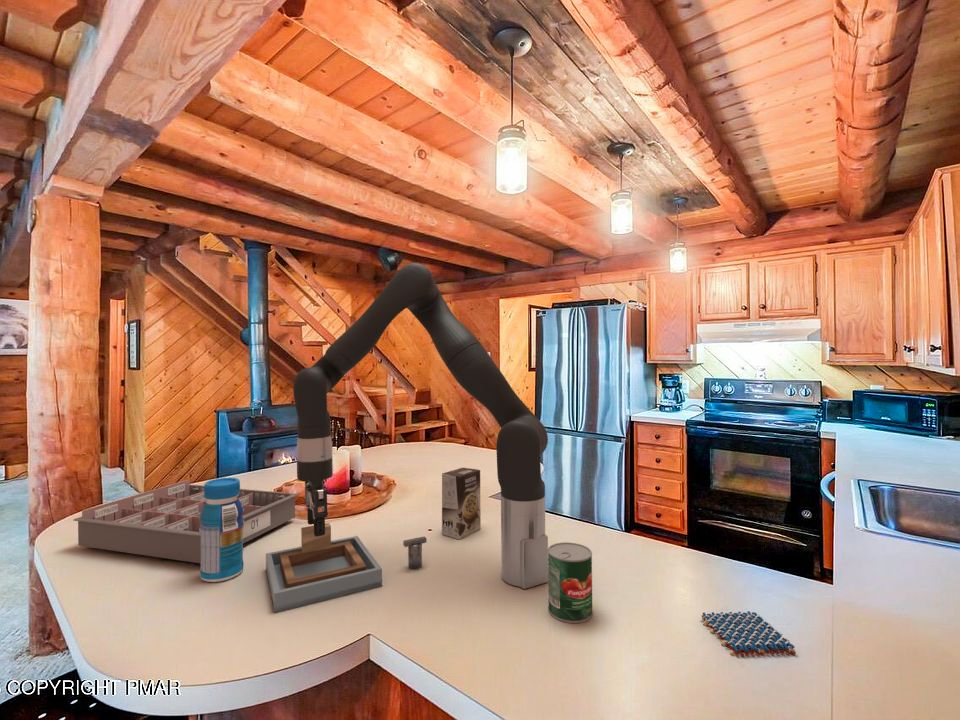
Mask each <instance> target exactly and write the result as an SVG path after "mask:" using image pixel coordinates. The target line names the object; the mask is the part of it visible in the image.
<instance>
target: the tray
mask: <svg viewBox="0 0 960 720" xmlns="http://www.w3.org/2000/svg"><path fill="white" fill-rule="evenodd" d="M348 541H350V543H351V544H352V546H353V547H354V549H355V550H356V552H357V553H358V554H359V556H360V557H361V559H362V560H363V562H364V563H365V565H366V566H367V570H365V571H361V572H356V573H352V574H348V575H343V576H339V577H334V578H330V579H326V580H321V581H317V582H313V583H308V584H304V585H300V586H295V587H291V588H287V589H286V588H285V584H284V580H283V576H282V572H281V569H280V555H282V554H287V553H292V552H297V551H302V547H301V546H299V547H293V548H287V549H283V550H275V551H272V552H267V553H265V572H266V576H267V581H268V586H269V591H270V596H271V601H272V602H271V603H272V606H273V612H274V614H276V613H281V612H285V611H288V610H292V609H296V608H300V607H304V606H309V605H313V604H316V603H320V602H324V601H328V600H332V599H336V598H341V597H343V596H347V595H352V594H355V593H360V592H364V591H368V590H372V589H375V588H380V587H383V568H382V567H381V566H380V564H379V563H378V561H377V560H376V559H375V558H374V556H373V554H371V552H370V550H368V548H367V547H366V545H365V544H364V543H363V541H362V540H361V538H360V537H359V536H358V535H356V536H355V535H354V536H350V537H345V538H340V539H333V540H331V545H332V544H338V543H343V542H348ZM347 567H351V566H350V564H349V562H348V561H347V559H346V557H345V556H340V557H335V558H331V559H326V560H321V561H316V562H312V563H307V564H302V565H297V566H293V567H292V570H293V573H294V576H295V579H297V578H302V577H306V576H311V575H315V574H320V573H324V572H329V571H333V570H338V569H342V568H347Z"/></svg>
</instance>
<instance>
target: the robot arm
mask: <svg viewBox="0 0 960 720" xmlns="http://www.w3.org/2000/svg"><path fill="white" fill-rule="evenodd" d="M406 309H407V310H408V311H410V313H411V314H412V315H413V316H414V317H415V318H416V319H417V321H419V323H420V324H421V325H422V327H423V328H424V329H425V330H426V332H427V333H428V335H429V336H430V339H431V340H432V343H433V344H434V346H435V349H436V351H437V353H438V354H439V357H440V358H441V360H442V361H443V364H444V365H445V366H446V368H447V369H448V371H449V372H450V373H451V375H452V377H453V378H454V379H455V381H456V382H457V383H458V384H459V385H460V387H461V388H463V390H464V391H466V392H467V393H468V394H469V395H470V396H472V397H473V398H474V399H475V400H476V401H478V402H479V403H480V404H481V405H482V406H483V407H485V409H487V411H488V412H490V414H491V415H492V416H493V418H494V419H495V421H496V422H497V424H498V425H499V427H500V429H499V431H498V434H497V439H496V449H495V450H496V470H497V472H496V473H497V481H498V484H499V486H500V533H501V534H500V537H501V538H500V539H501V541H500V544H501V547H500V548H501V550H500V552H501V556H500V557H501V579H502V580H503V581H504V582H505V583H506V584H509V585H511V586H514V587H519V588H522V589H523V590H526V589H529V588H532V587H535V586H540V585H542V584H546V583H548V548H549V536H548V535H547V534H546V484H545V482H544V480H543V478H542V472H541V471H542V470H541V455H542V454H544V453H545V451H546V449H547V446H548V443H549V436H548V432H547V430H546V429H547V428H546V427H545V425H544V424H543V423H542V421H540V419H539V418H538V417H537V416H536V415H535V414H534V412H532V410H531V409H530V408H529V407H528V406H527V405H526V403H525V402H523V400H522V399H521V398H520V397H519V396H518V395H517V394H516V392H515V391H514V390H513V389H514V388H512V386H511V385H510V383H509V382H508V380H507V378H506V377H505V375H504V374H503V373H502V371H501V370H500V369H499V367H498V366H497V365H496V363H495V361H494V360H493V359H492V356H491V355H490V354H489V352H488V351H487V349H485V347H484V345H483V344H482V343H481V341H479V339H478V337H476V335H474V333H473V332H472V331H471V330H470V329H469V328H468V327H467V326H466V325H464V324H463V322H461V321H460V320H459V319H458V318H457V317H456V316H455V314H454V313H453V312H452V310H451V309H450V307H449V306H448V304H447V302H446V300H445V299H444V297H443V295H442V293H441V291H440V290H439V287H438V285H437V282H436V281H435V278H434V276H433V274H432V272H431V270H430V269H429V268H428V267H426V266H425V265H424V264H421V263H419V262H418V263H417V262H412V263H408V264H405V265H404V266H402V267H401V268H400V269H398V271H397V272H396V273H394V275H393V276H392V277H391V279H390V280H389V282H388V283H387V284H386V286H385V287H384V288H383V290H382V291H380V293H379V294H378V296H377V297H376V298H375V299H374V300H373V301H372V303H371V304H370V305H369V306H368V307H367V308H366V310H365V311H364V312H363V313H362V314H361V315H360V316H359V318H358V319H356V321H354V323H353V324H351V326H350V327H349V328H347V330H345V331H344V332H343V333H342V334H341V335H340V336H339V337H338V338H337V339H336V340H334V342H333V343H331V344H330V345H329V347H327V349H326V350H325V354H323V355H322V356H321V357H320V358H319V359H318V360H317V361H316V362H314V364H313V365H311V367H307V368H304V369H301V370H300V371H299V372H298V373H297V374H296V376H295V377H294V379H293V380H294V381H293V388H292V389H293V399H294V406H295V410H296V414H297V427H296V428H297V431H296V432H297V443H296V478H297V480H298V481H301V482H304V502H305V506H306V510H307V512H306V513H307V514H306V515H307V517H306V518H307V524H308V525H309V526H312V525H313V526H314V535H315V536H316V537H317V536H322V535H324V534H325V524H326V518H328V516H329V515H328V489H327V486H324V485H325V484H324V481H325V480H328V479H330V478H332V477H333V475H334V474H333V471H334V468H333V467H334V466H333V465H334V464H333V442H332V430H331V429H332V428H331V427H332V425H331V423H332V422H331V415H330V412H329V411H328V399H327V398H328V397H327V396H328V395H327V394H329V392H331V390H332V389H334V388H335V386H336V385H337V384H339V382H340V381H341V380H342V379H343V378H344V377H345V375H346V374H347V373H348V372H349V371H351V370H352V369H354V368H355V366H357V365H358V364H359V362H361V361H362V360H363V359H364V358H365V357H366V356H367V355H368V354H369V353H370V352H371V351H373V349H374V347H375V346H376V345H377V343H378V342H379V340H380V338H381V337H382V336H383V334H384V332H385V331H386V329H387V328H388V326H389V325H390V324H391V323H392V321H394V319H395V318H396V317H398V315H399V314H400V313H402V312H403V311H404V310H406ZM319 509H321V511H319Z"/></svg>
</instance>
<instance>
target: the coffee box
mask: <svg viewBox="0 0 960 720" xmlns="http://www.w3.org/2000/svg"><path fill="white" fill-rule="evenodd" d="M481 511H482V510H481V470H480V469H477V468H472V467H471V468H470V467H468V468H467V467H459V468H456V469H453V470H449V471H447V472H443V473H441V534H442V535H443V536H446V537H450V538H452V539H456V540H462V539H464V538H466V537H468V536H470V535H472V534H474V533H476V532H478V531H480V530H481V529H482V527H481V526H482V525H481V521H482V520H481V519H482V518H481Z"/></svg>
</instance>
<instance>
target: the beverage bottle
mask: <svg viewBox="0 0 960 720" xmlns="http://www.w3.org/2000/svg"><path fill="white" fill-rule="evenodd" d="M203 486H204V497H205V500H208V501H207V502H206V504H205V505H204V507H203V509H202V511H201V514H200V518H201V520H202V522H201V524H200V527H199V532H200V534H201V563H200V569H199V577H200V579H201V580H202V581H204V582H209V583H219V582H223V581H228V580H231V579H234V578H235V577H237V576H239V575H240V574H241V573H242V572H243V570H244V555H243V554H244V551H243V550H244V547H243V546H244V543H243V527H244V519H243V517H242V514H243V512H244V509H243V506H242V504H241V502H240V501H239V499H238V498H237V496H239V493H240V489H241V481H240V479H239V478H236V477H222V478H221V477H220V478H215V479H211V480H208V481H206V482H204V485H203Z"/></svg>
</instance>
